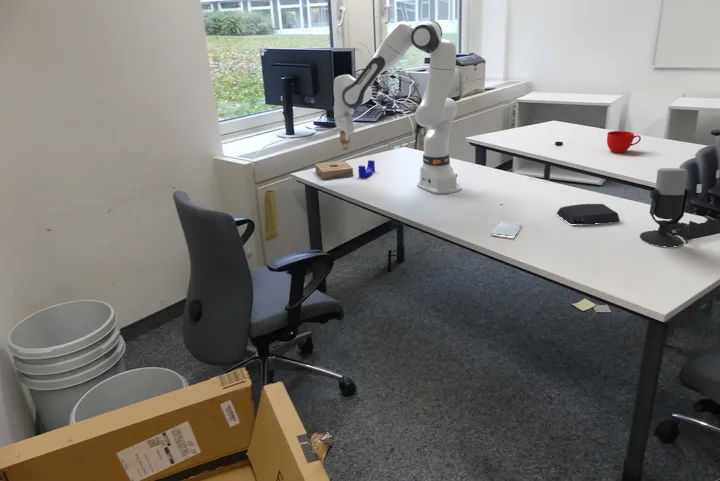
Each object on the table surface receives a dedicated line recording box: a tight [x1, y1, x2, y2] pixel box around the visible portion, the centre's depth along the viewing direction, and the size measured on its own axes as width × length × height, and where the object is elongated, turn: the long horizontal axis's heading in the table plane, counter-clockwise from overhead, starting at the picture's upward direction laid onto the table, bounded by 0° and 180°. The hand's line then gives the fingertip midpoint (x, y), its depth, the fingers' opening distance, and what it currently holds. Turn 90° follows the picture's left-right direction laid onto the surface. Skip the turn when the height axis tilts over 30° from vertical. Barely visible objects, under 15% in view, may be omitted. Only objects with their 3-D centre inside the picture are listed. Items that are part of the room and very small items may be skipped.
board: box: [314, 160, 354, 180], centre depth 264 cm, size 16×16×4 cm
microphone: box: [639, 167, 693, 247], centre depth 169 cm, size 13×13×25 cm
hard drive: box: [490, 221, 522, 236], centre depth 187 cm, size 2×8×12 cm
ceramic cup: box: [606, 130, 642, 154], centre depth 275 cm, size 13×17×10 cm
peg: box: [339, 131, 351, 151], centre depth 247 cm, size 5×5×8 cm
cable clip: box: [358, 159, 376, 179], centre depth 259 cm, size 12×4×6 cm, turn 152°
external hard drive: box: [556, 203, 620, 225], centre depth 194 cm, size 13×19×4 cm
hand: (344, 138), depth 247 cm, fingers closed on peg, 5 cm apart
